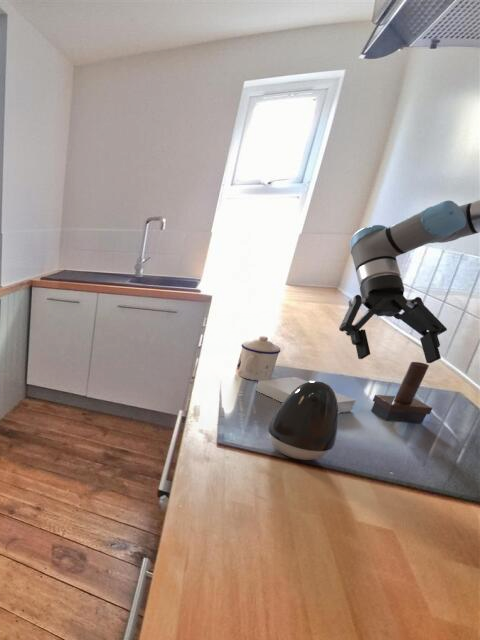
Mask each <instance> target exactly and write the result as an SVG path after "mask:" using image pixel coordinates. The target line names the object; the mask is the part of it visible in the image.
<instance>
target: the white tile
mask: <svg viewBox="0 0 480 640" xmlns="http://www.w3.org/2000/svg"><path fill="white" fill-rule="evenodd" d="M257 382H258V383H257V386H256V389H255V392H256V391H258V392H257V393H259V392H260V393H259V394H261V393H263V394H265V395H267V396H270V397H272V398H274V399H276V400H279V401H280V402H284V401H285V399H286V398H287V397H288V396H289V394H290V393H291V392H292V391H293V390H295V389H296V388H297V387H298V386H300V385H301V384H303V383H305V382H309V381H308V380H305V379H303V378H300V377H297V376H292V377H282V378H273V379H272V378H271V379H270V380H262V381H257ZM334 393H335V395H336V398H337V402H338V412H344V413H348V412H347V411H351V412H352V410H353V408H354V405H355V404H356V399H353V398H351V397H348V396H346V395H343V394H341V393H338V392H336V391H334ZM263 394H262V395H263ZM265 395H264V396H265ZM267 396H266V397H267ZM274 399H273V400H274ZM276 400H275V401H276ZM280 402H279V403H280Z"/></svg>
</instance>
